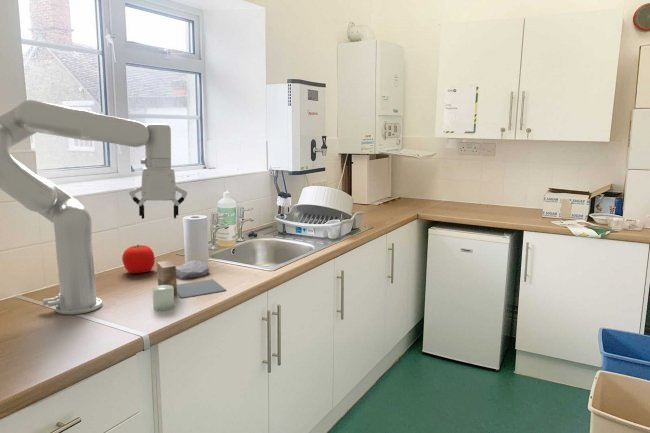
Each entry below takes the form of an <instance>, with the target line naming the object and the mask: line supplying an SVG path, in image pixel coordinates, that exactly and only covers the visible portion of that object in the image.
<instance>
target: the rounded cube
mask: <svg viewBox="0 0 650 433" xmlns="http://www.w3.org/2000/svg"><path fill="white" fill-rule="evenodd" d="M152 302H153V303H152V305H153V306H152V307H153V310H156V311H168V310H169V311H170V310H171V309H174V308H175V297H174V288H173V286H171V285H159V286H158V285H156V286H154V287H153V288H152Z"/></svg>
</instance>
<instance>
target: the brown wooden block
mask: <svg viewBox="0 0 650 433" xmlns="http://www.w3.org/2000/svg"><path fill="white" fill-rule="evenodd" d="M176 266H177V265H175V264H174V263H173V262H172V261H170V260H163V261H157V262H156V267H157V268H156V271H157V272H156V273H157V286H159V285H171V286H173V288H174V298H175V297H178V295H177V284H178V283H177V282H178V280H177V277H176Z"/></svg>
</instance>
